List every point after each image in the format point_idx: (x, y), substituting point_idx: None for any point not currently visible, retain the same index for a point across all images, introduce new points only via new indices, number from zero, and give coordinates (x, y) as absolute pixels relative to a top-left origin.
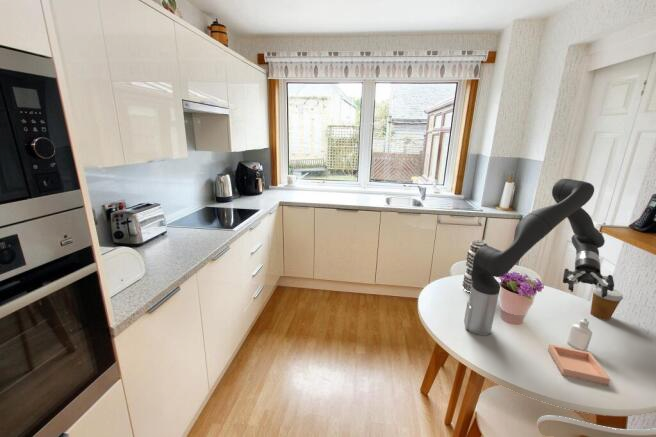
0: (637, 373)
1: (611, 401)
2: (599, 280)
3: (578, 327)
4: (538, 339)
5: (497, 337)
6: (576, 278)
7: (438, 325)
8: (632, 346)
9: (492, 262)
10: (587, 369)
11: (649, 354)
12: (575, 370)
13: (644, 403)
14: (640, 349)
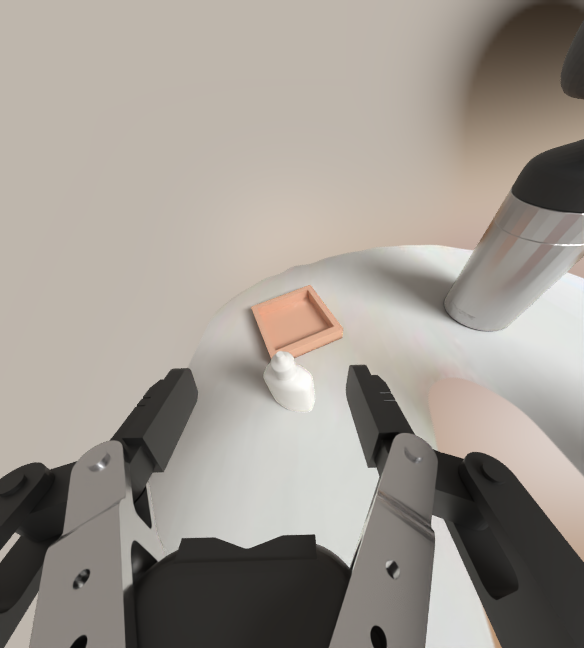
0: (196, 384)
1: (256, 291)
2: (106, 515)
3: (296, 363)
4: (368, 362)
5: (427, 309)
6: (377, 493)
7: None
8: None
9: None
10: (278, 326)
11: None
12: (295, 292)
13: (218, 314)
14: None
